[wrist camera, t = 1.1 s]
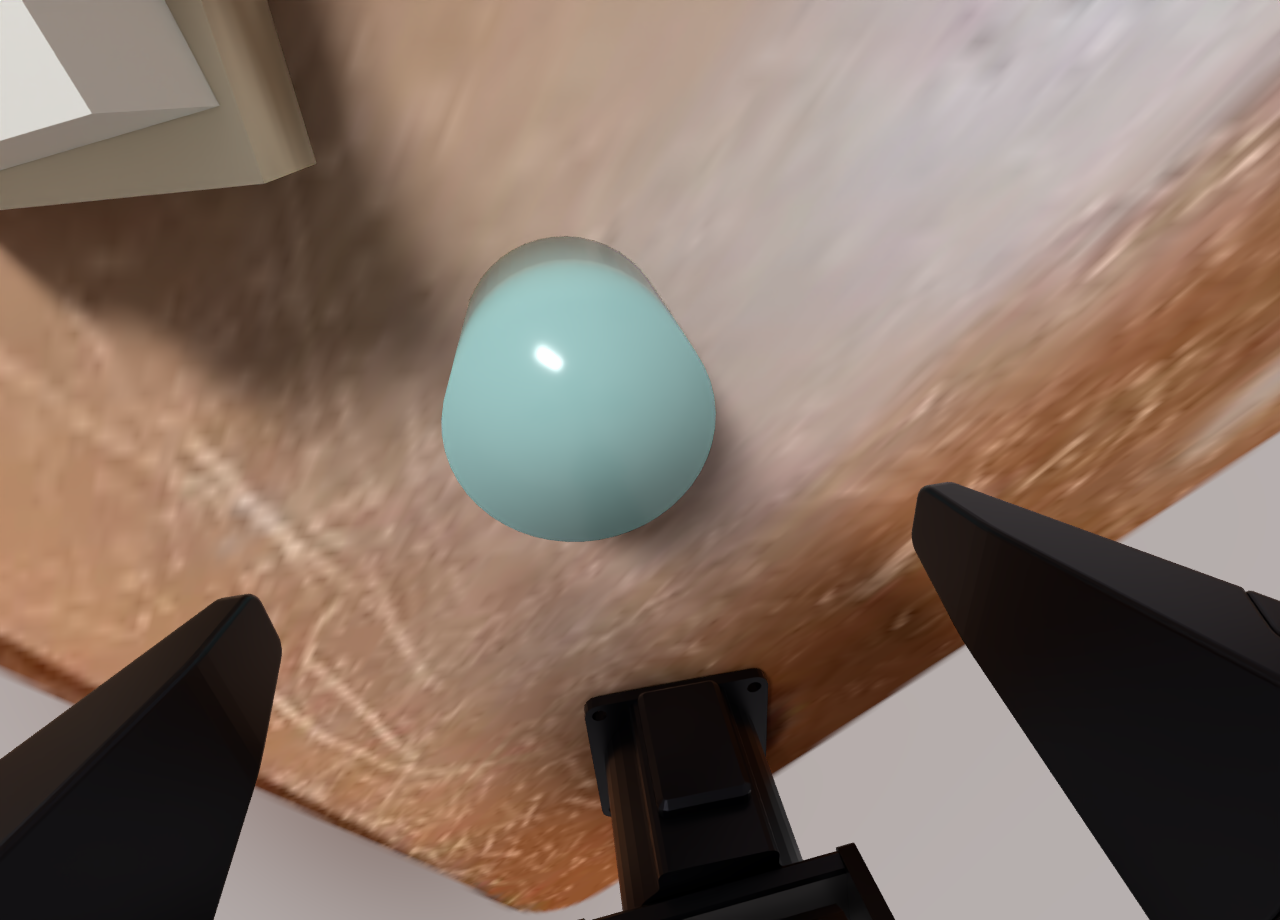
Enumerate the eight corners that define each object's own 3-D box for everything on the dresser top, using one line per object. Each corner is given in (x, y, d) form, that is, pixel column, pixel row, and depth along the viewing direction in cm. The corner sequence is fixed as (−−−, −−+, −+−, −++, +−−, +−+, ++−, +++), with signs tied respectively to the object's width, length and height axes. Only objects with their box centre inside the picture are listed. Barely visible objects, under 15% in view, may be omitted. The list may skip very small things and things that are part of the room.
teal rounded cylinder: (671, 415, 18) (717, 520, 13) (486, 441, 17) (474, 559, 13) (658, 224, 15) (712, 279, 11) (442, 249, 15) (408, 317, 10)
